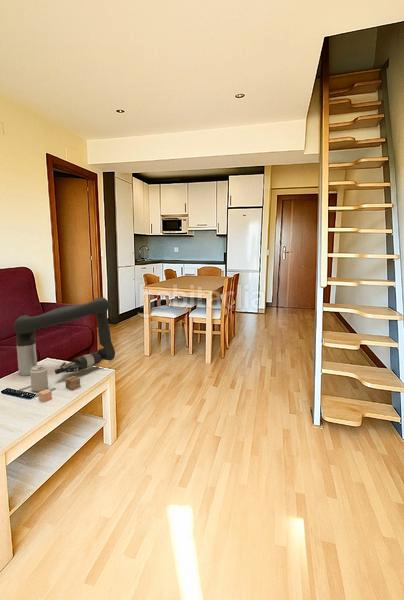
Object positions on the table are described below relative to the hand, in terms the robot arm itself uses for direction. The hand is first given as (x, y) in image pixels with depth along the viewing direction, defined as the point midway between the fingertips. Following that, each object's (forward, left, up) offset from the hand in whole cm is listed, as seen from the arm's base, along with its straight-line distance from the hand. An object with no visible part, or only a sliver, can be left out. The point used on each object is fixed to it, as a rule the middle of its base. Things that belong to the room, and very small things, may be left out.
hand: (55, 372), depth 159 cm
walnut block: (+12, +1, -6) cm, 14 cm away
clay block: (+13, -14, -6) cm, 20 cm away
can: (+1, -9, -6) cm, 11 cm away
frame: (0, -11, -6) cm, 12 cm away
